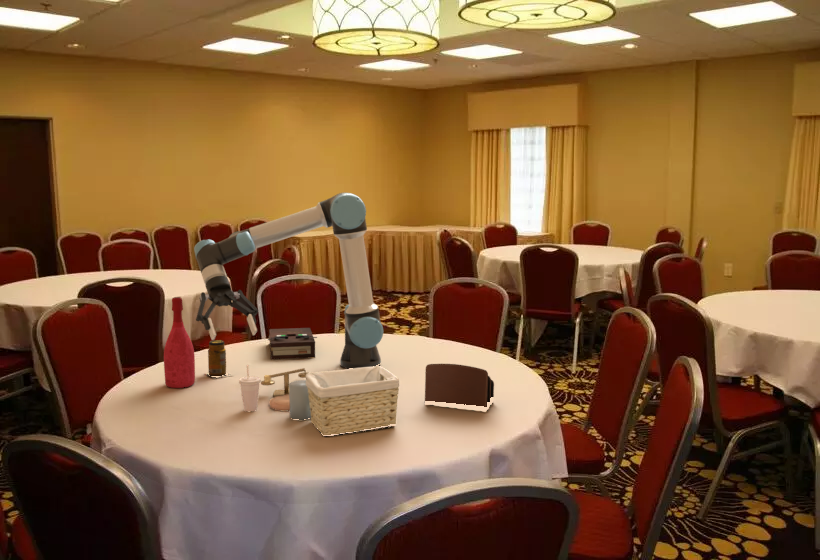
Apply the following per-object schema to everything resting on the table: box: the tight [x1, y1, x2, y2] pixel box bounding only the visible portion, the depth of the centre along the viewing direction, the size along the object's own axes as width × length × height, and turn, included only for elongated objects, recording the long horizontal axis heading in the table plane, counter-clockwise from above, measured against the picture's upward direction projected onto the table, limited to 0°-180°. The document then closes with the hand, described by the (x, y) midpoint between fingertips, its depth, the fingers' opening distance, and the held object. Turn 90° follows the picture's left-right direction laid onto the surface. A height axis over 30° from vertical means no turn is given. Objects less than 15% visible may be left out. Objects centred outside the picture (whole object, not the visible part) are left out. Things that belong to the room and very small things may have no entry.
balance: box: [260, 367, 309, 398], centre depth 231 cm, size 16×5×9 cm, turn 93°
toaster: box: [424, 363, 495, 407], centre depth 222 cm, size 10×20×14 cm, turn 70°
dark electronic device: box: [267, 327, 318, 360], centre depth 288 cm, size 19×8×30 cm
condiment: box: [207, 339, 234, 379], centre depth 252 cm, size 7×8×12 cm
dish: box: [269, 395, 290, 412], centre depth 222 cm, size 12×12×1 cm
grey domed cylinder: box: [289, 379, 311, 421], centre depth 210 cm, size 7×7×10 cm
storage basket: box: [305, 365, 400, 435], centre depth 203 cm, size 24×16×15 cm
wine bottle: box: [163, 296, 196, 389], centre depth 238 cm, size 10×10×30 cm
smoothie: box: [238, 364, 262, 412], centre depth 215 cm, size 6×6×14 cm
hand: (234, 335), depth 225 cm, fingers open, 13 cm apart
